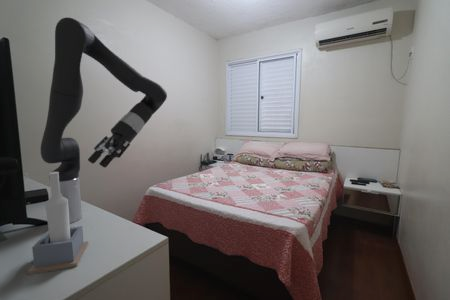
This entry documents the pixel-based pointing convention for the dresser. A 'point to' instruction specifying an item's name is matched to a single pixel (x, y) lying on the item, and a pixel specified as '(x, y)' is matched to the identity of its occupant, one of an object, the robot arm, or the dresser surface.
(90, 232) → the dresser surface
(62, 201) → the bottle
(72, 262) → the sleeve
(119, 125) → the robot arm
